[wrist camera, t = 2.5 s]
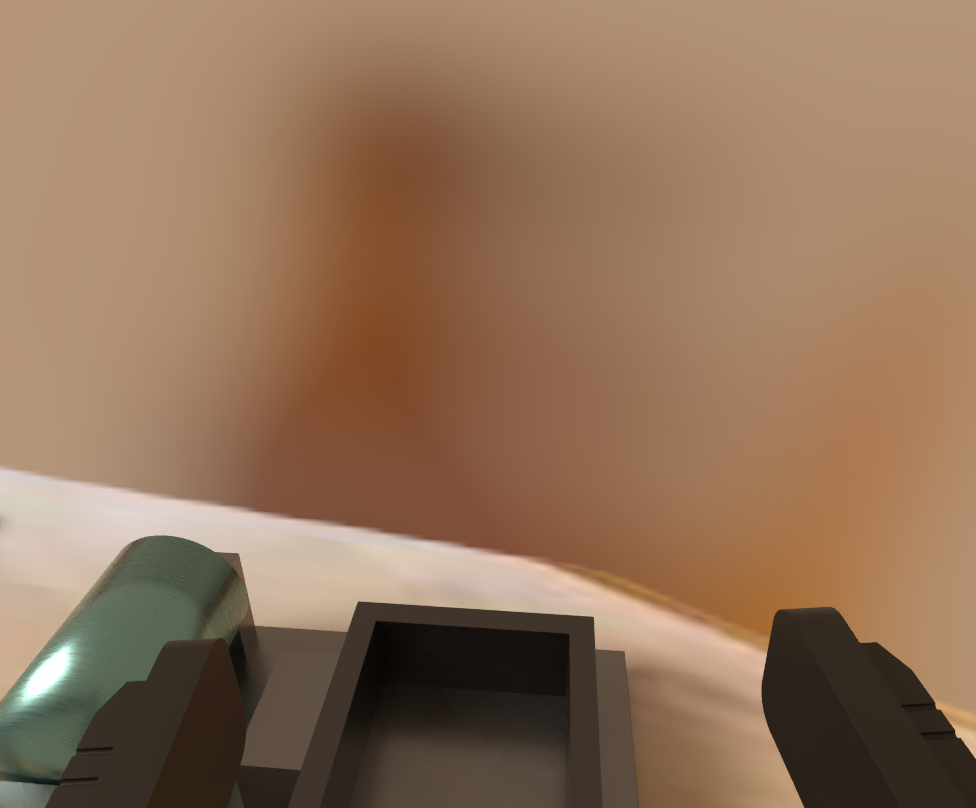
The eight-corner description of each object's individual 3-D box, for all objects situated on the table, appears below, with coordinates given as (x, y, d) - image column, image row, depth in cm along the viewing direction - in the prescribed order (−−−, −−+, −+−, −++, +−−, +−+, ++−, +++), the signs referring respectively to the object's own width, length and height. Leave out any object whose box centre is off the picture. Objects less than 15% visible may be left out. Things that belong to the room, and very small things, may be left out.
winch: (651, 1021, 27) (687, 869, 22) (-61, 943, 29) (-174, 790, 24) (622, 670, 41) (639, 529, 36) (141, 636, 43) (96, 499, 38)
